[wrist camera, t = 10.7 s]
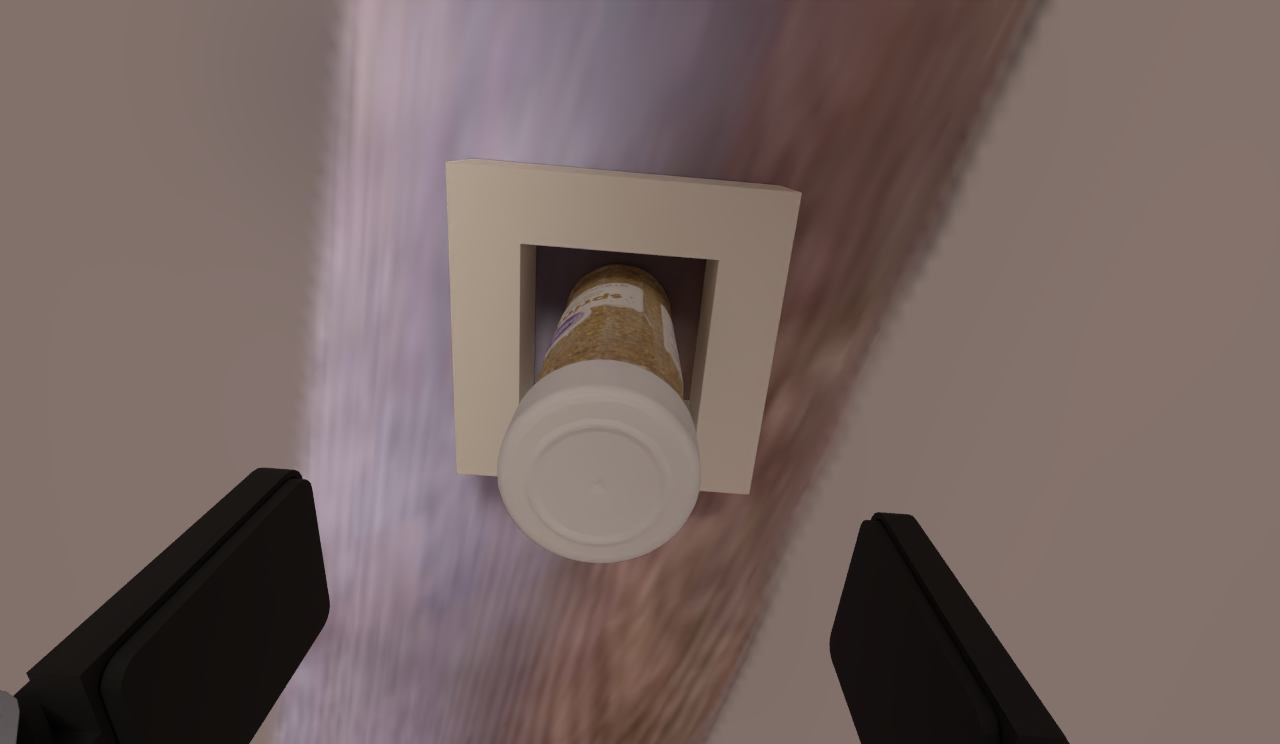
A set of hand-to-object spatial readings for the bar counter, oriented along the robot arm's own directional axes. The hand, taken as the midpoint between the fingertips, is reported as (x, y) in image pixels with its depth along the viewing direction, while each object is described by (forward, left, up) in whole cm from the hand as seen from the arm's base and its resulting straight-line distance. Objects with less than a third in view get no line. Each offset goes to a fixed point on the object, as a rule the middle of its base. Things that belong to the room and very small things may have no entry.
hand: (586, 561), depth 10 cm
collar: (0, 0, -16) cm, 16 cm away
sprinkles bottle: (0, 0, -16) cm, 16 cm away
